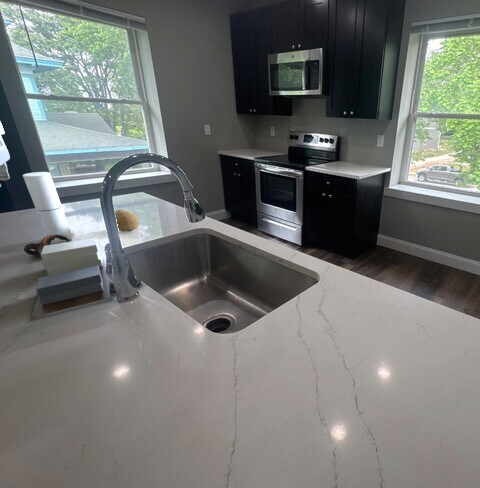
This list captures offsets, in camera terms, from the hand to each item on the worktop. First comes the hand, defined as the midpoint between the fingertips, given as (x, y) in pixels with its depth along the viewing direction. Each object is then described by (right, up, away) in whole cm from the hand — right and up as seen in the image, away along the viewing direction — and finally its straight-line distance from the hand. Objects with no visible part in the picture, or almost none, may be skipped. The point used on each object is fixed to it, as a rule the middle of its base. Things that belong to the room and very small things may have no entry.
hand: (1, 183), depth 78 cm
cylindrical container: (-17, -14, +37) cm, 43 cm away
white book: (+7, -18, +14) cm, 24 cm away
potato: (+2, -10, +47) cm, 48 cm away
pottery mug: (-9, -20, +25) cm, 33 cm away
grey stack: (+15, -29, +5) cm, 33 cm away
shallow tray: (+11, -27, +11) cm, 31 cm away
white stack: (+6, -23, +17) cm, 29 cm away
